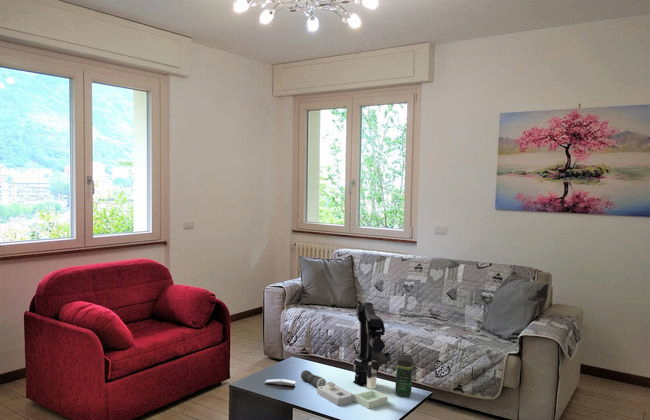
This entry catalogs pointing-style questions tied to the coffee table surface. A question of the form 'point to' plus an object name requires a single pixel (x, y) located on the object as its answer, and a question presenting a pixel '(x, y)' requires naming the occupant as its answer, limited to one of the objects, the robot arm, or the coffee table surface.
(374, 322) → the robot arm
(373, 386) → the block
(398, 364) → the coffee jar
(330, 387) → the block
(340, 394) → the fuse block
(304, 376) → the flashlight
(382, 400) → the parts tray
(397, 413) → the coffee table surface
